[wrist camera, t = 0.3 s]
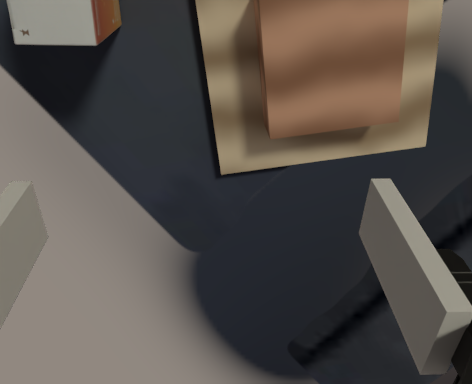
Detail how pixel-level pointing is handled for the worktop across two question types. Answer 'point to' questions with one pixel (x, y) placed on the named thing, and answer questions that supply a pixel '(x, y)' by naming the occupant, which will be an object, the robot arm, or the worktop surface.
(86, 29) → the small box
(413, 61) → the tower base
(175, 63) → the worktop surface
